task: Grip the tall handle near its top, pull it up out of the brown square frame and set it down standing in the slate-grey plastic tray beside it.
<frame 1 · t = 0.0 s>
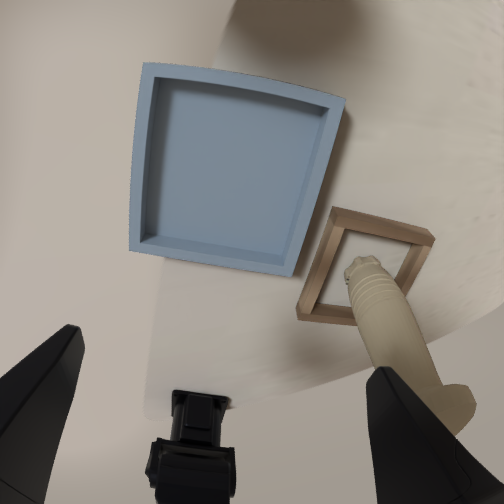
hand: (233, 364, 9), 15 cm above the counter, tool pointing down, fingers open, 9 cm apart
handle: (361, 268, 25), resting in brown square frame
tray: (226, 168, 21), on the counter
brown square frame: (361, 269, 25), on the counter
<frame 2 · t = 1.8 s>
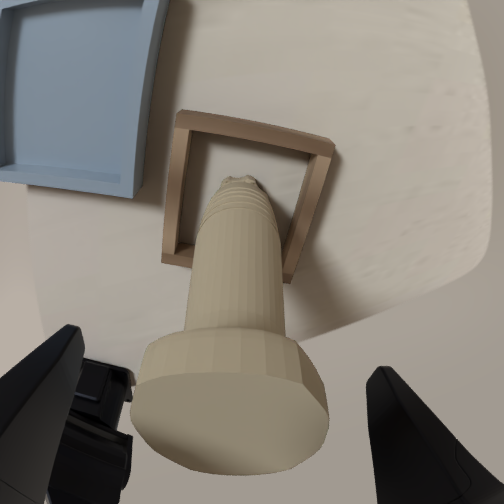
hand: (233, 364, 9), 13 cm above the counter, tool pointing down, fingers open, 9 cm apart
handle: (240, 195, 20), resting in brown square frame
tray: (67, 82, 15), on the counter
brown square frame: (240, 197, 20), on the counter
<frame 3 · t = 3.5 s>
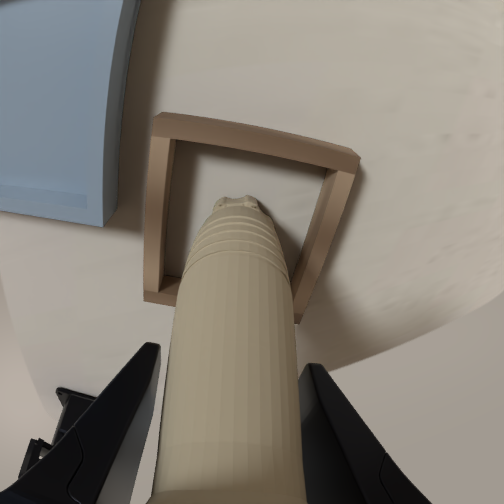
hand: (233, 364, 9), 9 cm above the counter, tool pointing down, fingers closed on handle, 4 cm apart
handle: (238, 220, 16), resting in brown square frame, touching gripper
tray: (26, 83, 11), on the counter
brown square frame: (238, 222, 16), on the counter
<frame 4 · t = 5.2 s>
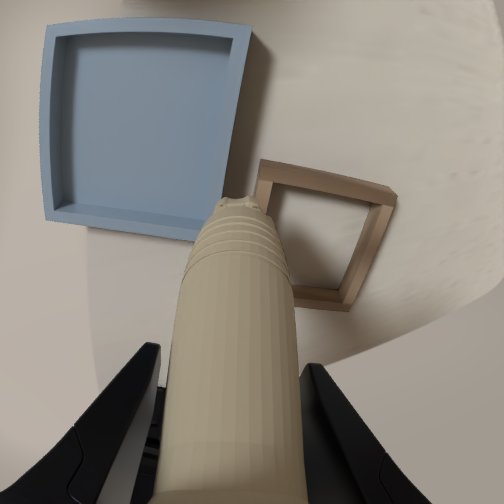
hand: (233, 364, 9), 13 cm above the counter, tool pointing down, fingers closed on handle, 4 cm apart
handle: (239, 220, 16), point 4 cm above the counter, touching gripper
tray: (135, 123, 17), on the counter
brown square frame: (309, 238, 22), on the counter
when the fingers open (10 cm above the counter, at t = 7.1 s): handle stays where it is, resting on tray.
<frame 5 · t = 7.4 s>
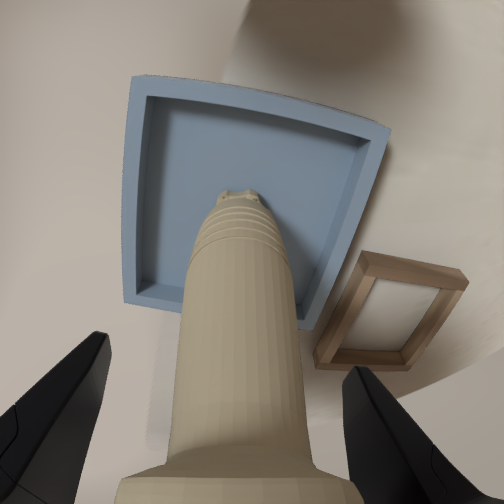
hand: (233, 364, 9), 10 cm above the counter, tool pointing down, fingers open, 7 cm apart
handle: (239, 212, 17), resting on tray
tray: (238, 207, 17), on the counter
brown square frame: (387, 314, 22), on the counter
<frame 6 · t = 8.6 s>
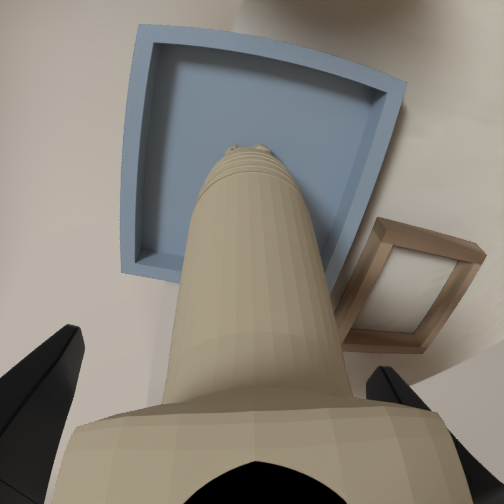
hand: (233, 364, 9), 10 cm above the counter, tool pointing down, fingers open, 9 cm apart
handle: (248, 171, 15), resting on tray
tray: (247, 166, 16), on the counter
brown square frame: (402, 290, 20), on the counter
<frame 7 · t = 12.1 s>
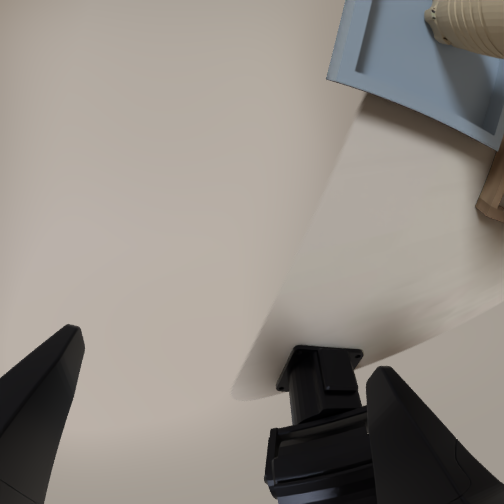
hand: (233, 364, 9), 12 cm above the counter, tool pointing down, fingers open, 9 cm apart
handle: (442, 22, 12), resting on tray
tray: (438, 21, 13), on the counter
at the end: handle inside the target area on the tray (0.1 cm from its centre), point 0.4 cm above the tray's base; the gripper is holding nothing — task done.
